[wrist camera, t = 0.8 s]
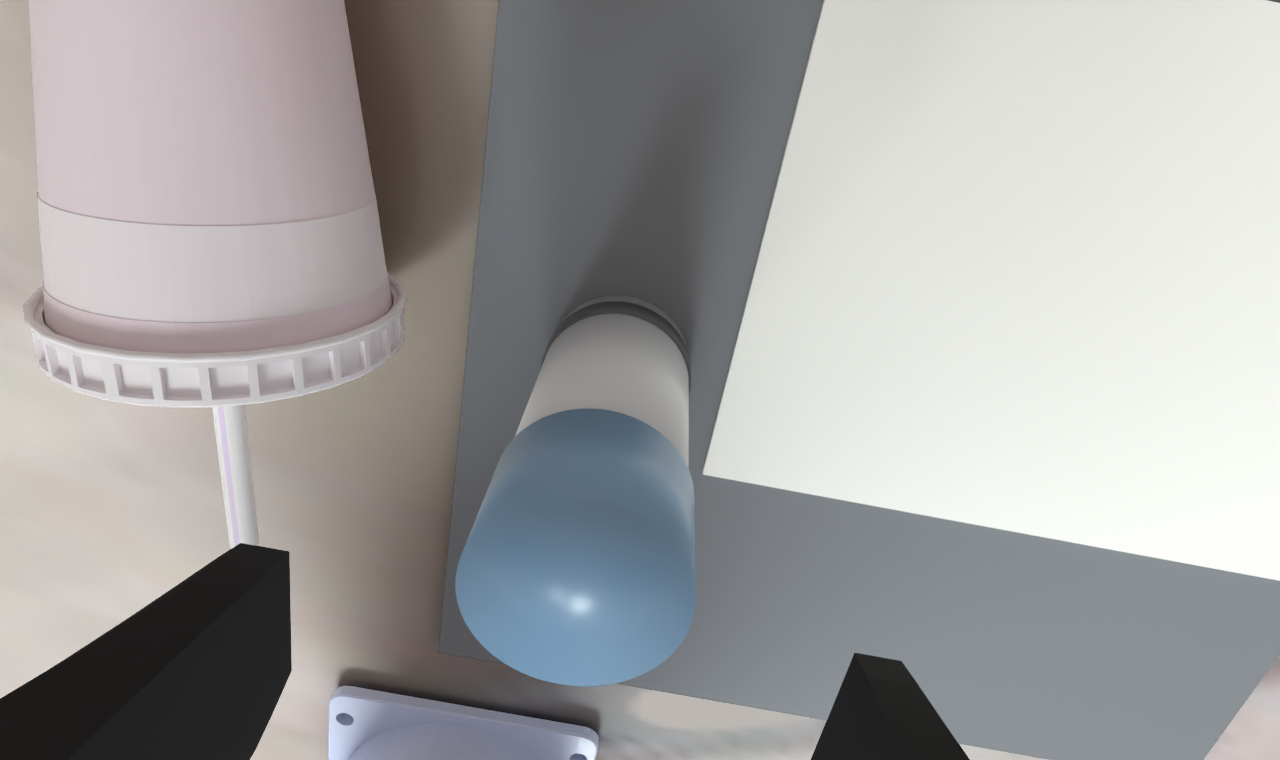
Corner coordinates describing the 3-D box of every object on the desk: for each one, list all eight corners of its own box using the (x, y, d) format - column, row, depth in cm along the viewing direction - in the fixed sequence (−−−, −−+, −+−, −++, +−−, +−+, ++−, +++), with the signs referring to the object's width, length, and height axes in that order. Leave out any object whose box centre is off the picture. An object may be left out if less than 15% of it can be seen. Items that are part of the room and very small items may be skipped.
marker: (677, 437, 19) (669, 703, 12) (537, 411, 19) (446, 664, 12) (707, 306, 18) (719, 522, 11) (555, 278, 18) (466, 476, 11)
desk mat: (1180, 774, 24) (1186, 783, 24) (441, 644, 23) (438, 652, 23) (1779, -63, 14) (1800, -64, 14) (533, -329, 13) (530, -335, 13)
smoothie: (291, -347, 9) (350, 646, 14) (443, -196, 15) (444, 469, 20) (-286, -408, 9) (-7, 610, 14) (95, -232, 15) (190, 443, 20)
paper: (1328, 586, 20) (1333, 590, 20) (702, 470, 20) (702, 474, 20) (1689, 88, 15) (1699, 89, 15) (844, -86, 14) (846, -87, 14)
